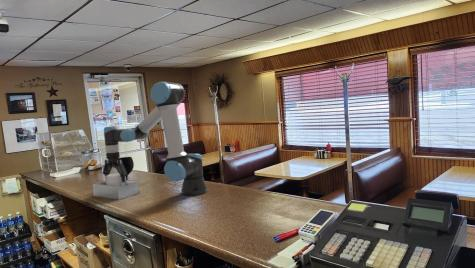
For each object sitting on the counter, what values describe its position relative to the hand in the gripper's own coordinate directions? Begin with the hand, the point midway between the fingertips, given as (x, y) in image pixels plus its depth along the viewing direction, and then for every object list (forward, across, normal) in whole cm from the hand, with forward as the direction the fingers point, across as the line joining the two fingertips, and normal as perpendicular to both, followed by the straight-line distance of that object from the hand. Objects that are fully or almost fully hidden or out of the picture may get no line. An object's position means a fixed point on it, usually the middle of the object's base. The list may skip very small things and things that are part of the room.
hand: (115, 186), depth 198 cm
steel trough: (+5, 0, 0) cm, 5 cm away
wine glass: (+5, +10, -16) cm, 20 cm away
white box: (+5, -1, 0) cm, 5 cm away
